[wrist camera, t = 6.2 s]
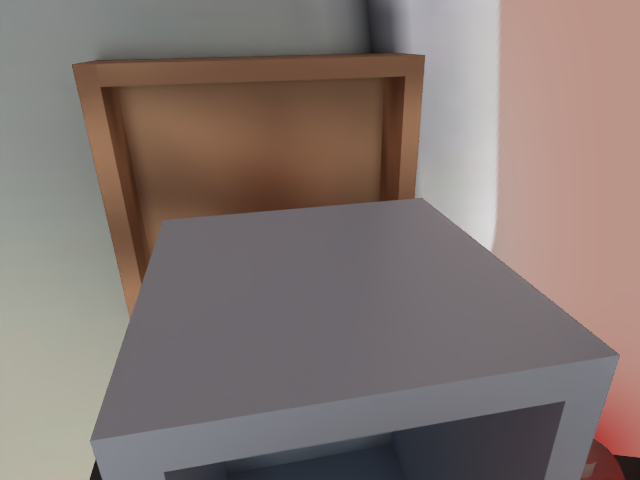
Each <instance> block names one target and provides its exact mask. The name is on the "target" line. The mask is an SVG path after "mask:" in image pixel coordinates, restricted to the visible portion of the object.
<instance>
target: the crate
mask: <svg viewBox="0 0 640 480" xmlns="http://www.w3.org/2000/svg"><path fill="white" fill-rule="evenodd" d="M424 62H425V55H416V54H403V53H372V54H332V55H292V56H252V57H212V58H172V59H132V60H96V61H90V62H84V63H78V64H72V68H73V72H74V76H75V81H76V85H77V89H78V94H79V98H80V102H81V107H82V111H83V115H84V120H85V124H86V129H87V133H88V137H89V142H90V146H91V150H92V155H93V159H94V163H95V168H96V172H97V177H98V181H99V185H100V190H101V194H102V198H103V203H104V207H105V211H106V216H107V220H108V225H109V229H110V233H111V238H112V242H113V246H114V251H115V255H116V259H117V264H118V268H119V273H120V277H121V281H122V286H123V290H124V294H125V299H126V303H127V307H128V312H129V316H130V319H131V316H132V313H133V310H134V307H135V303H136V300H137V297H138V294H139V291H140V288H141V285H142V282H143V279H144V276H145V273H146V270H147V267H148V264H149V261H150V258H151V255H152V252H153V249H154V246H155V243H156V240H157V237H158V234H159V231H160V228H161V225H162V222H163V220H170V219H181V218H193V217H205V216H217V215H228V214H240V213H252V212H264V211H275V210H287V209H299V208H310V207H322V206H334V205H346V204H357V203H369V202H381V201H393V200H404V199H414V197H415V183H416V170H417V156H418V143H419V129H420V116H421V103H422V89H423V76H424Z"/></svg>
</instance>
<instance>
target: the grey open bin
mask: <svg viewBox="0 0 640 480" xmlns="http://www.w3.org/2000/svg"><path fill="white" fill-rule="evenodd" d="M619 357H620V355H619V354H618V353H617V352H616V351H614V350H613V349H612V348H610V347H609V346H608V345H607V344H606V343H604V342H603V341H602V340H601V339H599V338H598V337H597V336H595V335H594V334H593V333H592V332H590V331H589V330H588V329H587V328H585V327H584V326H583V325H582V324H580V323H579V322H578V321H577V320H575V319H574V318H573V317H571V316H570V315H569V314H568V313H566V312H565V311H564V310H563V309H561V308H560V307H559V306H558V305H556V304H555V303H554V302H553V301H551V300H550V299H549V298H547V297H546V296H545V295H544V294H542V293H541V292H540V291H539V290H537V289H536V288H535V287H534V286H532V285H531V284H530V283H529V282H527V281H526V280H525V279H524V278H522V277H521V276H520V275H518V274H517V273H516V272H515V271H513V270H512V269H511V268H510V267H508V266H507V265H506V264H505V263H503V262H502V261H501V260H500V259H498V258H497V257H496V256H495V255H493V254H492V253H491V252H490V251H488V250H487V249H486V248H484V247H483V246H482V245H481V244H479V243H478V242H477V241H476V240H474V239H473V238H472V237H471V236H469V235H468V234H467V233H466V232H464V231H463V230H462V229H461V228H459V227H458V226H457V225H455V224H454V223H453V222H452V221H450V220H449V219H448V218H447V217H445V216H444V215H443V214H442V213H440V212H439V211H438V210H437V209H435V208H434V207H433V206H432V205H430V204H429V203H428V202H426V201H425V200H424V199H423V198H416V199H404V200H393V201H381V202H369V203H357V204H346V205H334V206H322V207H310V208H299V209H287V210H275V211H264V212H252V213H240V214H228V215H217V216H205V217H193V218H181V219H170V220H163V222H162V225H161V228H160V231H159V234H158V237H157V240H156V243H155V246H154V249H153V252H152V255H151V258H150V261H149V264H148V267H147V270H146V273H145V276H144V279H143V282H142V285H141V288H140V291H139V294H138V297H137V300H136V303H135V307H134V310H133V313H132V316H131V319H130V322H129V325H128V328H127V331H126V334H125V337H124V340H123V343H122V346H121V349H120V352H119V355H118V358H117V361H116V364H115V367H114V370H113V373H112V376H111V379H110V382H109V385H108V388H107V391H106V394H105V397H104V400H103V403H102V406H101V409H100V412H99V415H98V418H97V421H96V424H95V427H94V430H93V433H92V436H91V439H90V442H91V446H92V449H93V452H94V455H95V458H96V461H97V464H98V468H99V471H100V474H101V477H102V480H580V479H581V475H582V472H583V469H584V466H585V463H586V460H587V457H588V454H589V450H590V447H591V444H592V441H593V438H594V435H595V431H596V429H597V425H598V422H599V419H600V416H601V413H602V409H603V407H604V404H605V401H606V397H607V394H608V391H609V388H610V385H611V382H612V379H613V376H614V373H615V370H616V366H617V363H618V360H619Z"/></svg>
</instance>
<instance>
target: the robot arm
mask: <svg viewBox="0 0 640 480" xmlns="http://www.w3.org/2000/svg"><path fill="white" fill-rule="evenodd" d="M90 480H102V477H101V474H100V471H99V468H98V464H97V461H96V460H95V464H94V467H93V470H92V473H91V477H90ZM580 480H640V458H637V457H628V456H619V455H613V454H612V453H611V452H610V451H609V450H608V448H606V447H605V446H604V445H603V444H602V443H600V442H599V441H597V440H596V439H594V438H593V441H592V444H591V447H590V450H589V454H588V457H587V460H586V463H585V466H584V469H583V472H582V475H581V479H580Z"/></svg>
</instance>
